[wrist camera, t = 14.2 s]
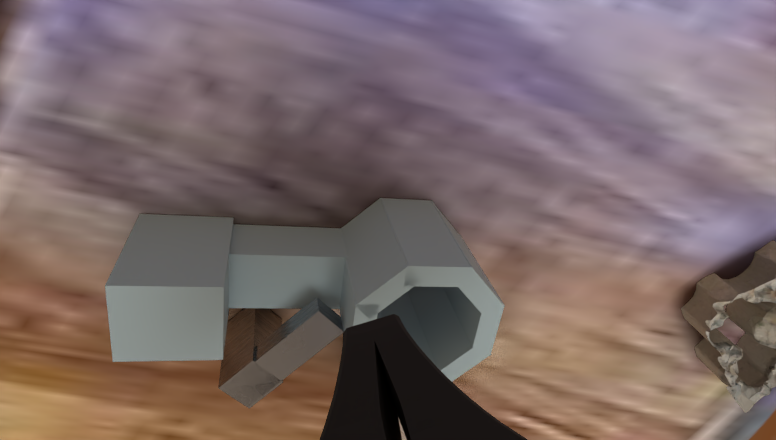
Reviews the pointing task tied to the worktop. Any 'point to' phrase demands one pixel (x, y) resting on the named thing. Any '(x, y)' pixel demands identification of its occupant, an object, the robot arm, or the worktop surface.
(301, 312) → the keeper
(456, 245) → the link
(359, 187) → the worktop surface
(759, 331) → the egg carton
